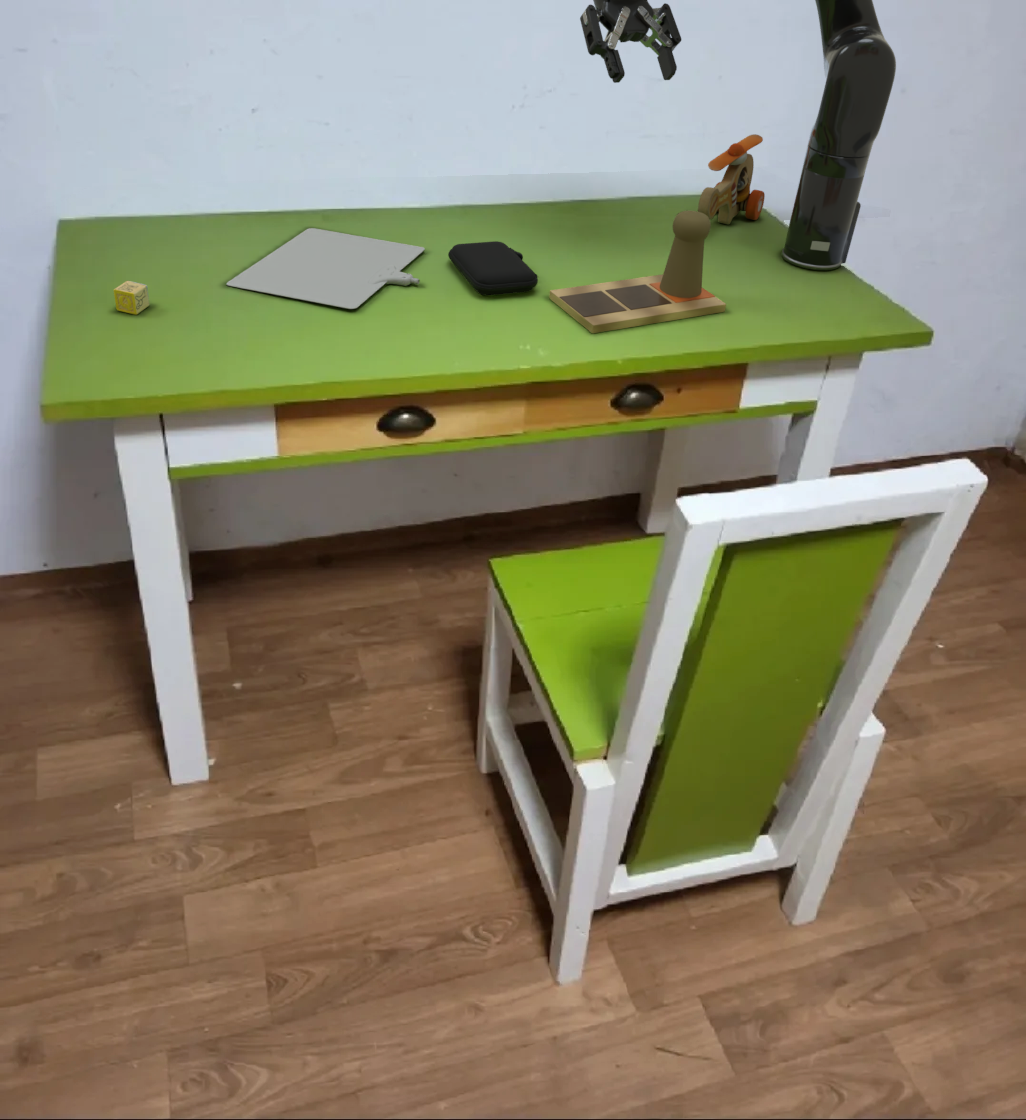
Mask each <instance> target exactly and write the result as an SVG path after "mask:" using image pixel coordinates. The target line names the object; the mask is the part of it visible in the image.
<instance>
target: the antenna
mask: <svg viewBox="0 0 1026 1120" xmlns="http://www.w3.org/2000/svg"><path fill="white" fill-rule="evenodd" d="M424 251H426V248H425V247H424V246H418V245H414V244H413V245H412V244H406V243H402V242H401V243H400V242H397V241H396V242H395V241H390V240H383V239H379V238H378V239H377V238H373V237H367V236H361V235H357V234H356V235H355V234H349V233H343V232H338V231H332V230H327V229H320V228H315V227H310V228H306V229H305V230H303V231H302V232H301V233H299V234H297V235H296V236H294V237H293V238H292V239H290V240H289V241H287V242H285V243H284V244H282V245H281V246H279V247H278V248H276V249H275V250H274V251H272V252H270V253H269V254H267V255H266V256H265V257H263V258H262V259H260V260H259V261H257V262H255V263H253V265H251V266H249V267H248V268H246V269H245V270H243V271H242V272H240V273H238V274H237V275H236V276H235V277H233V278H232V279H230V280H228V281H227V282H226V285H227V286H228V287H233V288H238V289H243V290H249V291H253V292H254V291H255V292H257V293H264V294H268V295H269V294H270V295H274V296H278V297H279V296H280V297H285V298H290V299H296V300H301V301H304V302H305V301H306V302H311V303H316V304H322V305H326V306H331V307H338V308H342V309H348V310H355V309H358V308H359V307H360V306H361V305H362V304H363V303H365V302H366V301H368V299H369V298H371V296H373V295H374V294H376V293H377V291H379V290H380V289H381V288H382V287H383V286H384V285H399V286H404V287H407V286H409V285H411V284H413V285H419V284H420V279H419V278H418V277H417V278H416V277H414V275H413V274H411V273H408V272H403V269H404V268H405V267H406V266H408V265H409V264H410V263H411V262H413V261H414V260H415V259H416V258H417V257H419V255H421V254H422V253H423V252H424Z"/></svg>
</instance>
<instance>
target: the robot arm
mask: <svg viewBox="0 0 1026 1120" xmlns="http://www.w3.org/2000/svg"><path fill="white" fill-rule="evenodd" d="M592 1H593V4H588V5H587V7H586V8H585V10H584V11H583V12H582V14H581V15H580V18H579V20H580V24H581V28H582V33H583V37H584V41H585V45H586V48H587V49H586V50H587V52H588V54H589V55H590V56H595V55H598V56H600V58H601V59H603V62H604V64H605V68H606V71H607V75H608V77H609V78H610V79H611V80H612V82H613V83H614V84H617V83H620V82H621V81H622V80H623V78H625V74H626V73H625V68H624V65H623V62H622V59H621V55H620V52H619V49H616V47H617V45H618V43H627V42H633V43H639V42H640V43H641V44H642V45H643V46H644V47H645V48H650V49H651V50H652V51H653V52H654V53H655V54H656V55H657V57H656V58H657V63H658V65H659V68H660V72H661V75H662V78H663V81H670V80H671V79H672V78H673V77H674V76H675V75H676V71H678V70H677V69H678V66H677V63H676V60H675V59H676V58H675V56H674V54H673V51H674V50H675V49H676V48H677V46H678V45H679V44H680V43H681V42H682V36H681V32H680V30H679V28H678V25H677V22H676V19H675V17H674V14H673V11H672V9H671V8H672V7H671V6H670V5H669V4H668V3H665V2H664V3H663V4H662V5H661V7H655V8H653V6H652V5H651V4H650V3H649V1H648V0H592ZM814 1H815V5H816V10H817V17H818V23H819V29H820V38H821V48H822V57H823V71H824V76H825V79H826V80H825V82H824V83H825V85H824V89H823V93H822V96H821V101H820V104H819V109H818V113H817V116H816V119H815V121H814V124H813V125H812V127H811V129H810V133H809V139H808V142H807V146H806V150H805V155H804V158H803V163H802V168H801V172H800V176H799V181H798V185H797V189H796V190H797V191H796V193H795V198H794V202H793V206H792V211H791V216H790V220H789V223H788V228H787V232H786V237H785V241H784V246H783V248H782V251H781V257H782V259H783V260H784V261H786V262H787V263H789V264H791V265H793V266H796V267H799V268H803V269H808V270H814V271H832V270H836V269H838V268H840V267H841V266H842V264H846V262H847V258H848V254H849V252H850V248H851V244H852V240H853V236H854V232H855V230H856V225H857V221H858V217H859V214H860V210H861V203H860V202H859V201H858V200H859V197H860V194H861V193H860V192H861V189H862V186H863V181H864V178H865V174H866V170H867V166H868V163H869V160H870V159H869V158H870V155H871V152H872V149H873V148H872V147H873V145H874V142H875V141H876V139H877V137H878V135H879V133H880V130H881V127H882V123H883V120H884V117H885V113H886V110H887V106H888V103H889V100H890V97H891V93H892V89H893V84H894V81H895V77H896V71H897V61H896V56H895V53H894V50H893V48H892V47H891V46H890V44H889V42H888V41H887V40H886V39H885V36H884V34H883V31H882V29H881V26H880V25H881V24H880V23H879V19H878V15H877V13H876V8H875V5H874V1H873V0H814ZM600 24H601V25H602V26H603V27H604V28H605V29H606V30H607V32H606V34H605V38H604V39H603V34H602V30H601V29H602V28H601V25H600ZM649 30H651V35H647V34H648V32H649Z"/></svg>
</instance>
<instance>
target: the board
mask: <svg viewBox="0 0 1026 1120" xmlns="http://www.w3.org/2000/svg"><path fill="white" fill-rule="evenodd" d="M662 277H663V273H662V274H656V275H648V276H642V277H635V278H627V279H621V280H612V281H605V282H600V283H592V284H586V285H585V284H584V285H578V286H572V287H564V288H556V289H550V290H549V296H548V299H549V300H550V301H552V302H553V303H554V304H555V305H556V306H558V307H559V308H560V309H562V310H563V311H564V312H565V313H566V314H568V315H569V316H570V317H571V318H573V319H574V320H575V321H576V322H577V323H579V324H580V325H581V326H582V327H584V328H585V329H586V330H587V331H589V332H590V333H591V334H598V333H603V332H609V331H615V330H621V329H622V330H623V329H627V328H634V327H640V326H646V325H652V324H658V323H664V322H665V323H666V322H671V321H677V320H682V319H689V318H695V317H702V316H707V315H714V314H719V313H725V312H726V307H727V303H726V302H724V301H722V300H721V299H719V298H718V297H717V296H716V295H714V294H713V293H712V292H710V291H708V290H707V289H705V288H704V287H702V292H701V294H700V295H699V296H697V297H693V298H680V297H674V296H671V295H668V294H666V293H664V292H662V290H661V289H660V283H661V280H662Z"/></svg>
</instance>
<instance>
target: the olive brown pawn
mask: <svg viewBox="0 0 1026 1120" xmlns="http://www.w3.org/2000/svg"><path fill="white" fill-rule="evenodd" d="M711 224H712V223H711V219H710V220H709V217H708V216H707V215H705V214H703V213H701V212H698V210H697V211H696V210H683V211H680V212H678V213H677V214H676V215H675V217H674V219H673V220H672V232H673V234H674V238H673V241H672V244H671V247H670V251H669V254H668V258H667V260H666V264H665V267H664V270H663V273H662V274H663V277H662V280H661V283H660V289H661V290H662V292H664V293H666V294H668V295H671V296H674V297H680V298H693V297H697V296H699V295H700V294H701V292H702V288H703V271H704V254H705V253H704V250H705V239H706V238H708V236H709V234H710V232H711V228H712V225H711Z"/></svg>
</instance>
